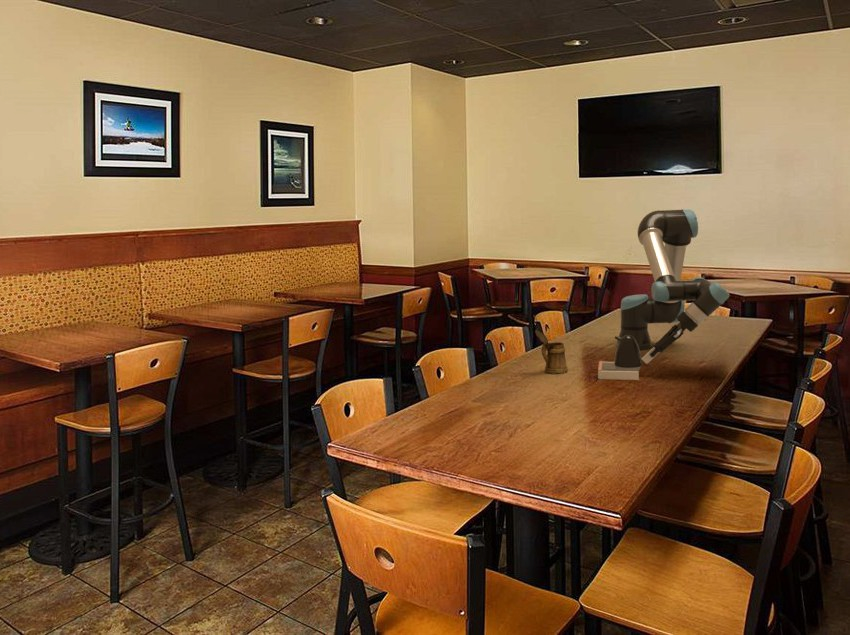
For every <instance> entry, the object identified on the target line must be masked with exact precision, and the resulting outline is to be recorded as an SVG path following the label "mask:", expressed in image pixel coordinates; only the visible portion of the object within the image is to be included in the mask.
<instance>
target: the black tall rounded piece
mask: <svg viewBox="0 0 850 635" xmlns="http://www.w3.org/2000/svg"><path fill="white" fill-rule="evenodd" d="M614 339H615V340H616V341H617V340H618V341H619V344H618V346H617V345H616V349H615V354H614V360H613V362H614V365H615V367H616V370H615V371H639V372H640V370H641V366H642V365H643V364H642V363H643V360H642V359H641V358H642V354H641V350H639V347H638V344H637V342H636V340H635V338H634V337H633V336H631V335H625V336H623V337H622V338H620V337H619V335H618V336H617V335H615V336H614Z"/></svg>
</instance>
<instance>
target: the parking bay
mask: <svg viewBox="0 0 850 635" xmlns="http://www.w3.org/2000/svg"><path fill="white" fill-rule="evenodd" d="M598 361H599V362H598V368H597V379H598V380H621V381H622V380H623V381H624V380H625V381H626V380H627V381H639V380H640V378H639V377H640V370H639V371H617V370H616V367H615V365H614V361H603V360H598Z"/></svg>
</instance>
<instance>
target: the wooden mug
mask: <svg viewBox="0 0 850 635" xmlns="http://www.w3.org/2000/svg"><path fill="white" fill-rule="evenodd" d="M534 332H535V335H536V337H537V338H538V339H539V340H540V341H541V342H542V343H543V344H542V345H541V355H542V358H543V360H544V361H545V366H544V372H545V371H546V372H545V373H547V372H549V373H548V374H550V373H563V374H565V373H564V372H566V373H568V372H569V371H568V369H569V368H568V366H567V360H566V353H565V352H566V348H565V346H564V343H563V342H560V341H559V342H557V341H555V342H549V340H548V338H547V336H546V335H545V334H544V333H543V332H542V331H541V330H539V329H537V328H536V329H535V331H534ZM567 371H568V372H567Z"/></svg>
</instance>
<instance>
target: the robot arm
mask: <svg viewBox="0 0 850 635" xmlns="http://www.w3.org/2000/svg"><path fill="white" fill-rule="evenodd" d="M698 235H699V222H698V218H697V215H696V213H695V211H694V210H691V209H683V208H682V209H670V210H669V209H667V210H666V209H665V210H664V209H663V210H658V209H657V210H654V211H651V212H649V213H648V214H646V215H645V216H644V217H643V218H642V219H641V221H640V223H639V224H638V227H637V237H638V242H639V243H640V244H641V245H642V246H643V248H644V251H645V256H646V258H647V261H648V264H649V268H650V272H651V273H652V276H653V281H654V282H652V285H651V289H650V290H651V297H649V296H648V294H645V293H644V294H633V295H627V296H625V297H623V298H622V299H621V301H620V332H619V334H618V337H620V338H622V337H623V336H625V335H631V336H633V337H634V338H635V340H636V342H637V344H638V347H639V350H640V351H641V350H643V351H644V350H649V351H647V353H646V354H644V356H641V360H642V362H644V363H645V365H648V364H649V363H650V362H652V360H653V359H654V358H656V357H657V356H658V355H659V354H660V353H663V352H664V351H665V350H666V349H667V348H668V347H670V346H671V345H672V344H673V343H675V342H676V341H677V340H678V339H680V338H681V336H683V334H684V332H685V331H686V330H688V332H690V333H691V332H694V330H696V328H698V325H699V324H702V323H703V322H706V321H707V318H708V317H709V316H710V315H712V314H713V313H714V312H716V310H717V309H718V308H719V307H721V306H722V305H723V304H724V303H725V301H728V299H729V298H730V293H729V291H727V290H726V289H725V288H724V287H723V286H722V285H721V284H720V283H718V281H717V282H713V283H711V282H710V281H709V280H707V279H705V277H702V276H696V277H694V278H692V279H691V280H682V275H683V274H682V273H683V268H684V262H685V256H686V249H687V247H688V246H689V245H690V244H691V242H692V238H693V239H694V238H696V237H697V236H698ZM686 301H692V302H691V303H690V304H689V305H688V306H687V307H685V306H686V305H685V302H686ZM673 323H677V324H674V325H672V326H671V328H670V329H669V330H668V331H667V332H666V333H665V334H664V335H662V337H661V338H660V339H658V341H657V342H656V343H655V344H654V345H653V343H652V340H651V337H650V333H649V329H648V328H649V327H648V325H650V324H673ZM618 344H619V341H618V340H617V339H616V347H617V346H618Z"/></svg>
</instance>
